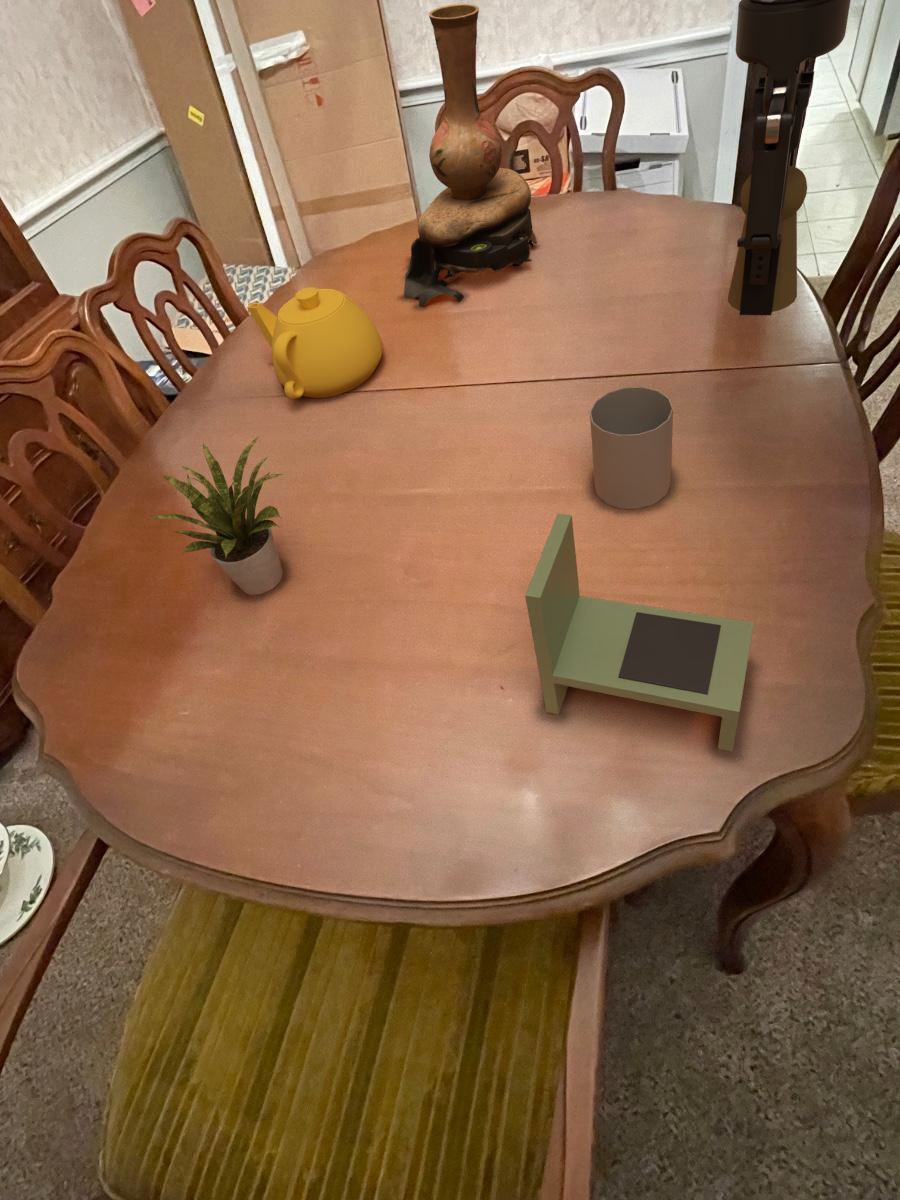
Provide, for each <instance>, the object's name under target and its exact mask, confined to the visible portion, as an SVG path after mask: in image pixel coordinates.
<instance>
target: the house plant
mask: <svg viewBox="0 0 900 1200" xmlns="http://www.w3.org/2000/svg"><path fill="white" fill-rule="evenodd" d="M260 436H261V435H260ZM260 436H257V437H255V438H254V439H253V440H252V441H251V442H249V444H247V446H246V447H245V448H244V449H243V450H242V452H241V453H240V455H239V456H238V460H237V463H236V465H235V468H234V474H233V481H232V483H231V485H230V486H229V487H228V484H227V480H226V478H225V475H224V472H223V470H222V467H221V465H220V463H219V461H218V460H217V458H216V457H215V456H214V455H213V454H212V453H211V451H210V449H209V447H208V446H206V444H204V442H203V444H202V448H203V454H204V457H205V461H206V463H207V465H208V468H209V470H210V473H211V476H212V479H213V482H214V485H215V486H214V485H213V483H212V482H211V481H209V480H208V478H206V476H204V475H203V474H201V473H200V472H197V471H196V470H194V469H192V468H190V467H187V466H184V465H181V464H179V466H180V467H181V468H182V469H184V470H186V471H187V472H188V473H190V474H191V475H193V476H194V477H196V478H194V477H190V475H189V474H188V473H186V480H187V481H186V482H184V481H183V480H179V479H177V478H176V477H173V476H170V475H169V476H168V475H162V477H163V478H164V479H165V480H166V481H167V482H168V483H170V484H171V485H172V486H173V487H174V488H175V489H176V490H178V492H180V493H181V494H182V495H183V496H184V497H185V498H187V499H188V500H189V502H190V505H191V506H190V507H191V509H193V510H194V511H195V512H196V513H197V515H198V516H199V517H200V518H201V519H202V520H203V521H201V520H199V519H197V518H194V517H191V516H189V515H183V514H178V513H168V514H159V515H155V516H154V517H151V518H149V519H147V520H148V521H150V520H159V519H165V520H167V519H168V520H169V519H170V520H177V521H182V522H187V523H190V524H194V525H197V526H200V527H203V528H204V529H205V528H206V529H208V530H211V531H213V532H215V534H212V533H209V532H200V531H194V530H184V529H183V530H175V531H173V532H174V533H177V534H178V535H186V536H187V537H190V538H192V539H195V540H196V541H192V542H191V543H188V544H187V546H185V548H184V549H183V551H182V552H181V554H183V553H192V552H196V551H201V550H207V549H209V555H210V557H211V558H212V559H213V560H214V561H215V563H216V564H217V565H218V566H220V568H221V569H222V570H223V571H224V572H225V573H226V575H228V577H229V578H230V579H231V580H232V581H233V582H234V583H235V584H236V586H237V587H238V588H239V589H240V590H241V591H242V592H243V593H245V594H247V595H250V596H258V595H262V594H264V593H267V592H269V591H271V590H273V589H274V588H276V587H277V585H279V583H280V582H281V580H282V578H283V573H284V570H283V566H282V563H281V560H280V556H279V553H278V549H277V546H276V542H275V539H274V535H273V531H272V529H271V528H275V527H277V528H280V526H279V525H278V524H277V523H276V522H274V520H272V519H271V518H280V519H282V517H281V516H280V515H281V514H280V513H279V510H278V508H276V507H275V506H273V505H269V506H266V507H264V508H262V510H260V511H259V512H258V514H257V515H256V508H257V503H258V499H259V495H260V492H261V490H262V487H263V485H264V482H266V481H268V480H271V479H274V478H277V477H278V478H279V476H282V475H285V474H284V473H272V474H271V471H268V473H267V474H264V476H261V477H260V478H258V479H257V476H258V474H259V471H260V469H261V466H262V465H263V464H264V463H265V462H266V460H267V459H268V457H265V458H263V459H261V460H260V461H259V462H258V463H257V464H256V465H255V467H254V468H253V469H252V472H251V475H250V477H249V480H248V485H246V486H244V487H243V489H242V481H243V475H244V470H245V467H246V464H247V462H248V458H249V455H250V452H251V450H252V448H253V446H255V444H256V443H257V441H258V439H259V438H260ZM191 479H192V480H195V481H197V482H199V483H201V485H203V486H204V487H205V489H206V491H207V493H208V497H206V496H205V495H204V494H203V493H202V492H201V491H200V490H198V489H197V488H196V487H195V486H193V485H192V481H191ZM256 479H257V480H256Z"/></svg>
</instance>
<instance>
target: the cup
mask: <svg viewBox="0 0 900 1200" xmlns="http://www.w3.org/2000/svg"><path fill="white" fill-rule="evenodd" d="M589 422H590V424H589V425H590V438H591V453H592V454H591V455H592V468H593V484H594V488H595V493H596V497H598V498H599V499H601V501H603V502H604V503H605V504H606V505H609V506H612V507H615V508H617V509H621V510H629V509H630V510H639V509H643V508H646V507H649V506H652V505H656V504H657V503H658V502H660V500H662V499H663V498H664V497H665V496H667V495H668V492H669V489H670V488H671V487H670V486H671V484H672V463H673V461H672V459H673V455H672V454H673V433H674V432H673V430H674V428H673V427H674V407H673V405H672V401H671V399H670V398H669V397H668V396H667V395H665V394H664V393H662V392H661V391H660V390H657V389H652V388H650V387H644V386H631V387H630V386H629V387H622V388H618V389H615V390H612V391H608V392H606V393H605V394H603V395H602V396H601V397H599V398H598V399H596V400H595V401H594V403H593V405H592V407H591V408H590V410H589Z"/></svg>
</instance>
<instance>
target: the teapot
mask: <svg viewBox="0 0 900 1200" xmlns="http://www.w3.org/2000/svg"><path fill="white" fill-rule="evenodd" d="M246 308H247V310H248V312H249V314H250V315H251V317H252V319H253V321H254V322H255V324H256V325H257V327H258V329H259V330H260V332H261V333H262V335H263V336H264V337H263V338H264V339H265V340H266V342H267V343H268V345H269V346H270V349H271V358H272V366H273V369H274V373H275V375H276V378H277V380H278V381H279V382H280V383H281V385H282V386H283V387H284V394H285V396H286V397H287V398H288V399H290V400H297V399H298V400H299V399H300V398H301V397H302V396H304V397H307V398H314V399H315V398H318V399H319V398H329V397H334V396H338V395H341V394H344V393H347V392H349V391H352V390H353V389H356V388H357V387H359V386H360V385H361V384H363V383H365V382H366V381H367V380H368V379H369V378H370V377H371V376H372V374H373V373H374V372H375V370H376V368H377V367H378V365H379V363H380V361H381V358H382V356H383V351H384V344H383V340H382V337H381V335H380V332H379V330H378V329H377V327H376V324H375V323H374V322H373V320H372V319H371V318H370V317H369V315H368V314H367V313H366V312H365V311H364V310H363V309H362V308H361V307H360V306H359V305H358V304H357V303H356V302H355V301H354V300H352V299H351V298H350V297H349V296H347V295H346V294H344V293H343V292H341V291H339V290H337V289H334V288H318V287H316V286H308V287H304V288H301V289H299V290H298V291H297V292H296V293H295V295H294V296H293V297H292V298H291V299H288V301H286V302H285V303H284V304H283V305H282V306H281V308H280V309H279V310H278V313H277V316H276V314H274V313H273V312H272V311H270V310H269V309H268V308H267V307H265V306H264V305H263V303H262V302H252V303H250V304H249V305H248V306H247V307H246Z"/></svg>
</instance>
